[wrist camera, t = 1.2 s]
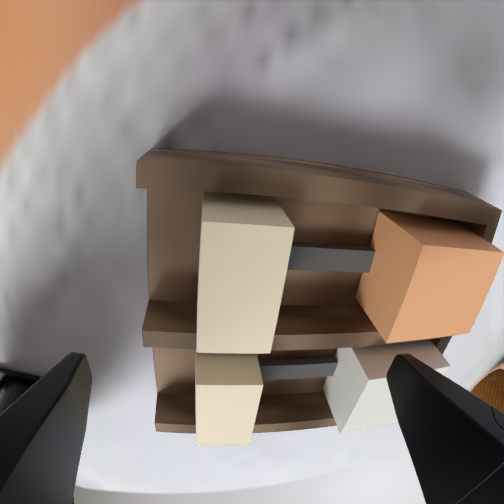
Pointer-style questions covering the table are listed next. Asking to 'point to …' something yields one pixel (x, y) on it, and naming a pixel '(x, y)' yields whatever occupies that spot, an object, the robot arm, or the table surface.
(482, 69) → the table surface
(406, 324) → the cream orange dumbbell block
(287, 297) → the lane rack
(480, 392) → the disposable coffee cup
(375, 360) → the cream white block dumbbell
